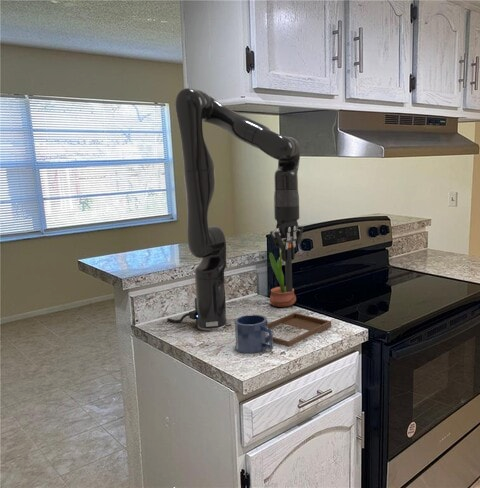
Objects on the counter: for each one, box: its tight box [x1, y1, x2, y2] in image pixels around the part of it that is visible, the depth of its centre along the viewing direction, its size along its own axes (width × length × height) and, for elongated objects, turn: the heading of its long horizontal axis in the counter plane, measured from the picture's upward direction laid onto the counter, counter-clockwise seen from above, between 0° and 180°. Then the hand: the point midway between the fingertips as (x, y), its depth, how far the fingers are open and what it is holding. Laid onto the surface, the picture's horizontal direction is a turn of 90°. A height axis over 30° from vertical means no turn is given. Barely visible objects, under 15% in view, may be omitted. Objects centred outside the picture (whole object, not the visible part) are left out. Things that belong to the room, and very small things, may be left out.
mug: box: [234, 313, 274, 355], centre depth 142 cm, size 13×9×9 cm
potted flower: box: [268, 242, 297, 308], centre depth 183 cm, size 12×10×25 cm
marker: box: [284, 244, 293, 292], centre depth 152 cm, size 2×2×15 cm
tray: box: [267, 312, 332, 348], centre depth 157 cm, size 16×22×2 cm
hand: (288, 259), depth 151 cm, fingers closed on marker, 2 cm apart
